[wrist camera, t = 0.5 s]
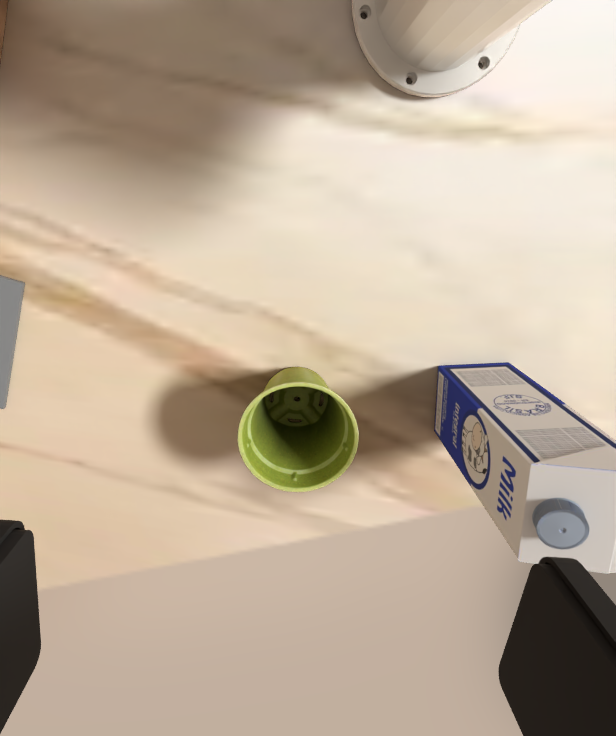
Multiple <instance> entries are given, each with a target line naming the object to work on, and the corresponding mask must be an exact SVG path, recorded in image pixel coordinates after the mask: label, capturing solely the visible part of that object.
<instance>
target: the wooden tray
mask: <svg viewBox="0 0 616 736" xmlns="http://www.w3.org/2000/svg"><path fill="white" fill-rule="evenodd" d="M7 6H8V0H0V63H1V55H2V47H3V38H4V30H5V22H6V14H7Z"/></svg>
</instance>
